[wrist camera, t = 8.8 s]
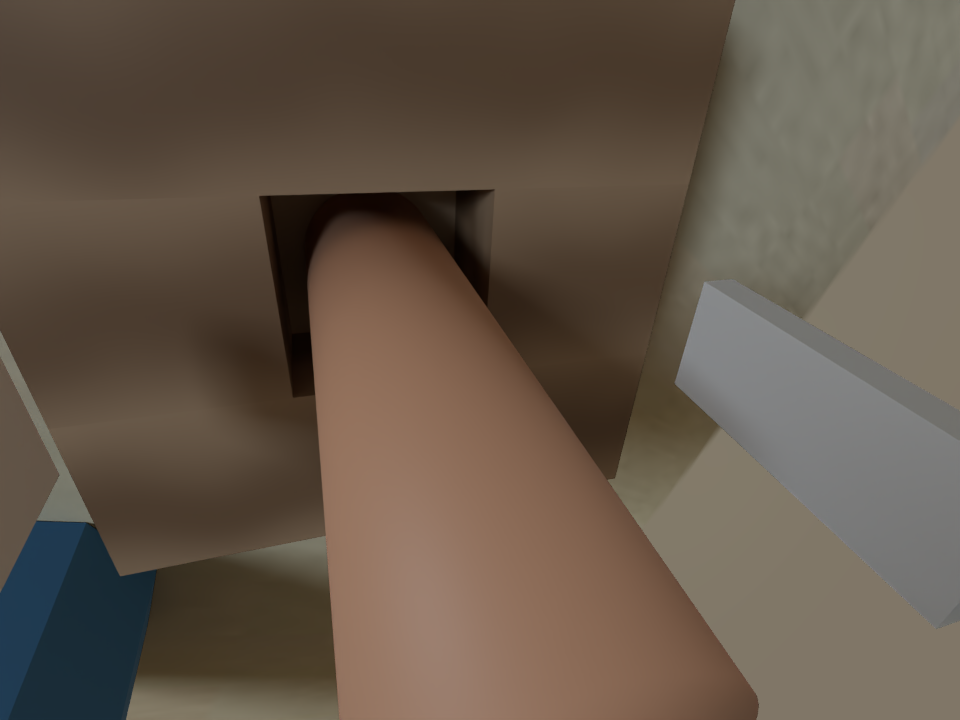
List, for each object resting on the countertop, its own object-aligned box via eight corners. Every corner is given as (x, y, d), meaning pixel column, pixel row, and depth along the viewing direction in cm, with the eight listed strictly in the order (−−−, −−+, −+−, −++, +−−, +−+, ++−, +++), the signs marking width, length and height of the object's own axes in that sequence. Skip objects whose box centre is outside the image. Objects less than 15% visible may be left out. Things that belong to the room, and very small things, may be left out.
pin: (296, 188, 14) (327, 785, 3) (432, 184, 15) (821, 625, 4) (312, 312, 16) (367, 951, 5) (432, 302, 17) (694, 814, 6)
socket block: (-61, -132, 11) (-269, -223, 7) (630, -53, 15) (755, -80, 11) (155, 459, 19) (120, 576, 15) (558, 399, 24) (614, 478, 20)
